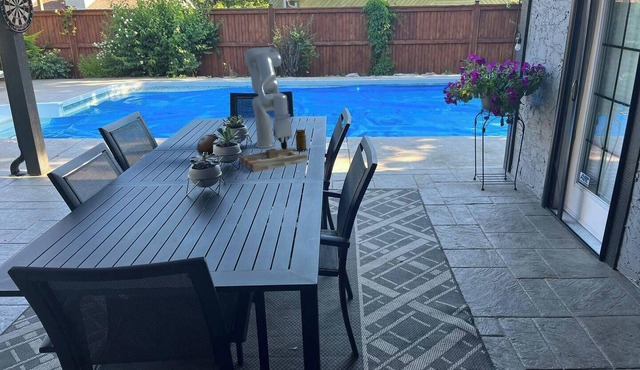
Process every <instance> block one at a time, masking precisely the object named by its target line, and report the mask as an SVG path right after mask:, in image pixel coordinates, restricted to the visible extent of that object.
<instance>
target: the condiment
mask: <svg viewBox="0 0 640 370" xmlns="http://www.w3.org/2000/svg"><path fill="white" fill-rule="evenodd" d="M295 133H296V134H295V143H296V144H295V145H296V148H294V149H293V151H296V150H295V149H297V151H296V152H300V153H301V152H305V151H303V150H306V149H307V137H306V131H305V129H296V131H295Z"/></svg>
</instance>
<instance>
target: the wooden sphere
mask: <svg viewBox="0 0 640 370" xmlns="http://www.w3.org/2000/svg"><path fill="white" fill-rule="evenodd" d="M218 138H220V137H218V136H217V135H216V134H205V135H204V136H202V137H201V138H200V139H199V140H198V142H197V146H196V149H197V150H196V151H197V152H198V155H199V156H200V155H202V154H203V152H208V155H210V154H212V153H213V142H214V141H215V140H216V139H218Z"/></svg>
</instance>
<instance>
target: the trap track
mask: <svg viewBox="0 0 640 370" xmlns="http://www.w3.org/2000/svg"><path fill="white" fill-rule="evenodd" d="M277 150H278V157H277V158H272V159H269V158H268V157H267V156H266V151H264V152H258V153H252V154H247V155H242V156H239V159H240V160H239V161H240V165H242V166H243V167H245V168H247V169H248V170H250V171H251V172H253V173H256V172H263V171H266V170H272V169H275V168H281V167H286V166H287V167H288V166H290V165H296V164H301V163H306V162H308V154H307V153H304V154H300V153H298V152H297V151H295V150H294V149H293V147H292V146H291V147H287V149H285V150H284V149H282V148H281V149H277Z"/></svg>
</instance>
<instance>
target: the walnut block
mask: <svg viewBox="0 0 640 370" xmlns="http://www.w3.org/2000/svg"><path fill="white" fill-rule="evenodd" d="M278 150H279V149H276V148H271V149H266V150H265V152H266V156H267V157H268V158H269V159H272V158H277V157H278Z"/></svg>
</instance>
